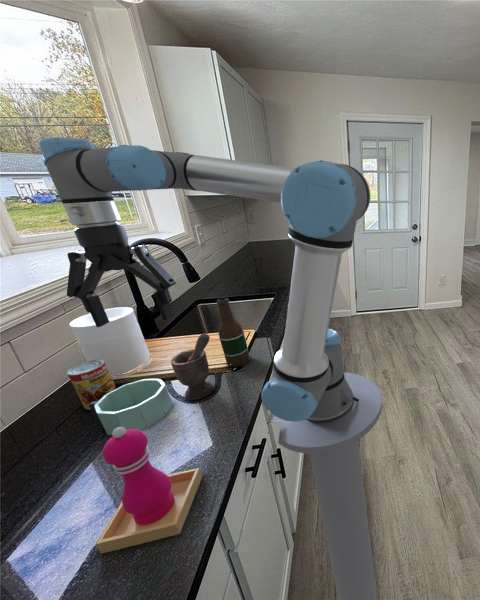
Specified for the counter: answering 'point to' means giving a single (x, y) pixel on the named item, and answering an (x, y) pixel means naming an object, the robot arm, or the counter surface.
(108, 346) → the canister
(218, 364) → the counter surface
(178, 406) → the counter surface
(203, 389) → the mortar and pestle
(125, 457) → the pepper mill
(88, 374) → the canned food
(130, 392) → the green faceted bowl
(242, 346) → the beer bottle
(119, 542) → the tray
